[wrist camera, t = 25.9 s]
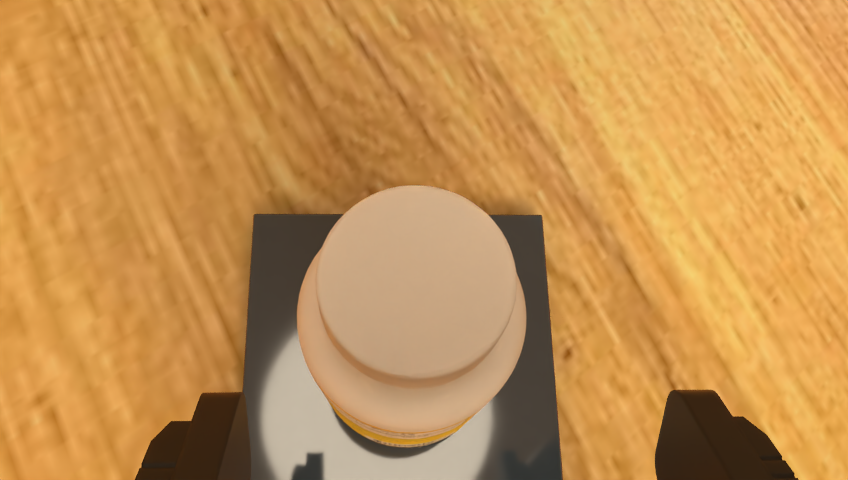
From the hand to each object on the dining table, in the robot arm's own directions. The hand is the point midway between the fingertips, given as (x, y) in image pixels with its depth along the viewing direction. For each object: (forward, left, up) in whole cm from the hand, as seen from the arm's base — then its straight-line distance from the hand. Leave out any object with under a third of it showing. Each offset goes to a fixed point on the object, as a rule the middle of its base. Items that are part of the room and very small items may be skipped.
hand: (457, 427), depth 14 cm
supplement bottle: (+1, -3, -9) cm, 10 cm away
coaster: (+1, -3, -10) cm, 10 cm away
